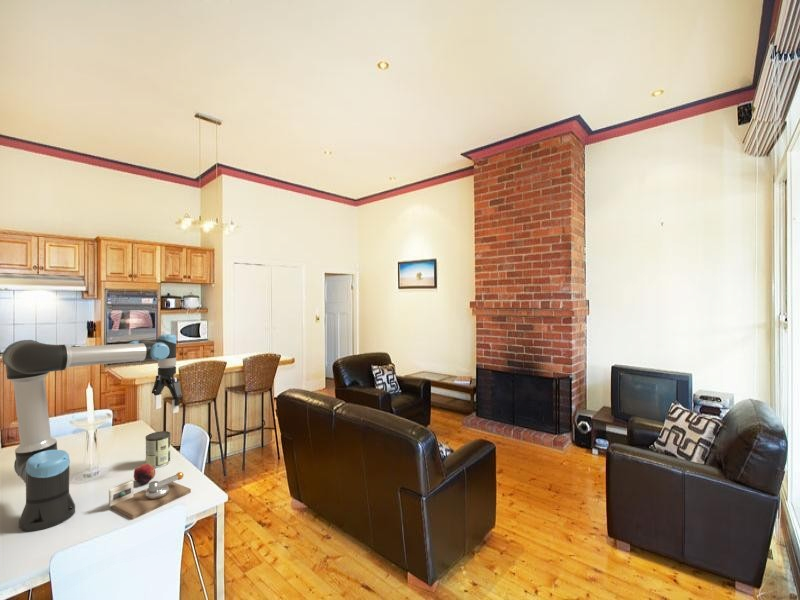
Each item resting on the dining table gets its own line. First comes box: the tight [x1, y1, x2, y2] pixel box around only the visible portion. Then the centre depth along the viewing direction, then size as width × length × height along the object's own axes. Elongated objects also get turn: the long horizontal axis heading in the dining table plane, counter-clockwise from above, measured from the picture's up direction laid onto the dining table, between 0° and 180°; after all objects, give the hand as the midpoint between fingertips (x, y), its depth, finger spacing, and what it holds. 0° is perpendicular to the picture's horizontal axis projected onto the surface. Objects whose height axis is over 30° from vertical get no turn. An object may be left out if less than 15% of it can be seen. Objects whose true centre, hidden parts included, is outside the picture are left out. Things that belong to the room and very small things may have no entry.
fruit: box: [133, 463, 156, 485], centre depth 167 cm, size 8×8×8 cm
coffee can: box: [145, 430, 171, 469], centre depth 186 cm, size 10×10×14 cm
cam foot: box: [146, 471, 184, 499], centre depth 157 cm, size 14×8×5 cm, turn 151°
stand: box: [108, 481, 192, 520], centre depth 153 cm, size 23×16×8 cm
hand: (166, 410), depth 184 cm, fingers open, 13 cm apart
